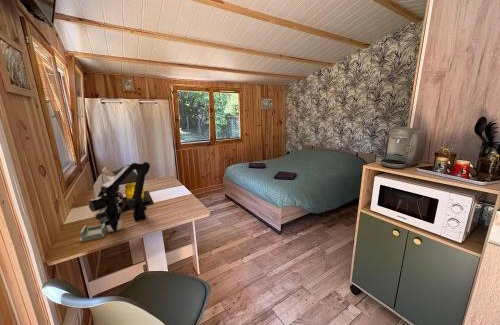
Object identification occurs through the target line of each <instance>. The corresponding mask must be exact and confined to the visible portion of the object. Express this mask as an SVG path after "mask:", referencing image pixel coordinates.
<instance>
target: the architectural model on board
mask: <svg viewBox="0 0 500 325" xmlns="http://www.w3.org/2000/svg"><path fill="white" fill-rule="evenodd" d="M104 209H106V207H105V208H103V209H100V210H98V212H100V211H102V210H104ZM106 219H107V217H106V216H105V217H103V218H101V219H100V220H99V223H100V224H103V223H104V222H105V220H106Z"/></svg>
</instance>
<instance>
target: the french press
mask: <svg viewBox="0 0 500 325" xmlns="http://www.w3.org/2000/svg"><path fill="white" fill-rule="evenodd" d="M110 181H111V180H110ZM120 189H121V186H120V185H119V188H118V190H117V191H116V193H117V194H120V195H119V196H117V197H116V201H117V204H118V207H120V208H121V211H123V210H124V209H125V206H124V198H123V192H121V191H120ZM118 191H119V192H118ZM118 197H119V199H118ZM120 197H121V199H120ZM123 208H124V209H123ZM122 209H123V210H122Z"/></svg>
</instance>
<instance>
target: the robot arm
mask: <svg viewBox="0 0 500 325" xmlns="http://www.w3.org/2000/svg"><path fill="white" fill-rule="evenodd" d="M150 168H151V165H150V163H149V162H147V161H137V162H128V163H127V164H125V166H124V167H123V168H122V169H121V170H120V171H119V172H118V173H117V174H116V175H115V176H116V177H115V178H114V179H112V180H111V181H109V182H107V183H106V184H104V185H103V186H102V187H101V191H100V193H99V195H98V197H99V198H96V197H95V198H93V199H92V198H91V199H90V200H89V203H88V208H89V210H90V211H91V212H92V213H94V212H97V211H98V212H97V213H96V214H95V215H94V216H95V219H96V220H98V221H100V219H101V218H103V217H105V216H106V220H105V222H103V223H105V226H107V225H110V226H111V227H112V229H113V232H117V231H116V229H117V225H118V221H119V220H120V219H121V218H120V217H121V214H122V210H121V208H120V207H118V204H117V201H116V197H117V196H119V194H117V193H116V191H117V190H118V188H119V186H120V184H121V183H122V182H124V180H125V179H126V178H128V176H129V175H130V174H131V173H132V172H133V171H135V172H136V178H135V184H134V189H133V193H132V194H133V195H132V197H129V198H128V202H127V206H128V208H129V209H131V211H133V213H132V215H133V220H134V222H139V221H144V220H146V219H147V215H146V211H147V206H146V205H144V204H143V203H144V200H143V198H142V197H143V196H142V195H143V190H144V184H145V180H146V175H147V174H148V173H149V172H150ZM104 194H107V195H104ZM105 207H106V209H104V210H102V211H100V212H99V210H100V209H103V208H105Z"/></svg>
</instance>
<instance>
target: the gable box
mask: <svg viewBox="0 0 500 325" xmlns="http://www.w3.org/2000/svg"><path fill="white" fill-rule="evenodd" d="M115 177H116V175H115V174H114V173H113V172H112V171H111V170H109V169H108V166H107V167H106V166H103V167H102V168H101V173H100V175H98V177H97V179H96V180H95V182H94V184H93V186H92V187H93V191H94V196H95V199H96V198H99V197H98V195H99V193H100V191H101V187H102V186H103V185H104V184H106V183H107V182H109V181H110V180H112V179H114V178H115ZM118 192H120V190H119V191H118ZM104 195H107V194H104ZM119 195H120V194H119ZM118 199H120V197H118Z"/></svg>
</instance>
